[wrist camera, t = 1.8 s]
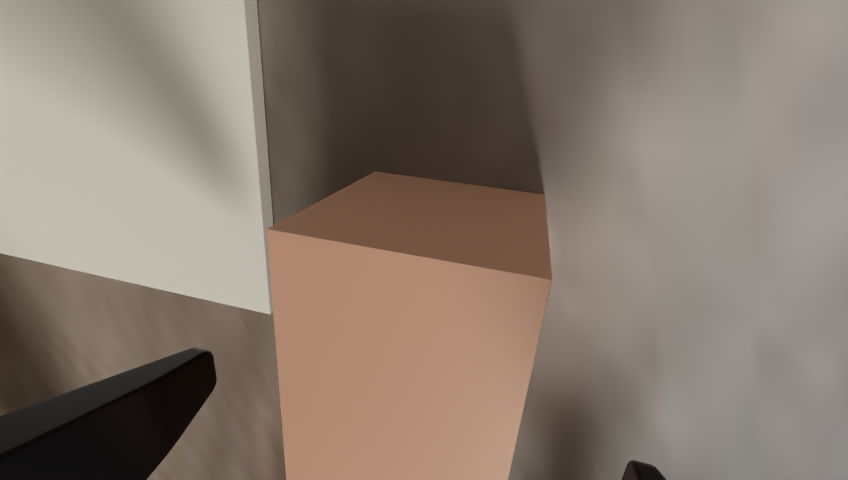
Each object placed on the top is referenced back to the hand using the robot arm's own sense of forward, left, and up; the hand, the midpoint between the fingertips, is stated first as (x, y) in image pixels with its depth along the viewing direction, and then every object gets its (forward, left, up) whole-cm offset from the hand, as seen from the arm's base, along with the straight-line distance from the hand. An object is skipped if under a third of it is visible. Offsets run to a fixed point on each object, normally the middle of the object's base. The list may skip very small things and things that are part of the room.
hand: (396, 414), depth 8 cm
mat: (+6, +11, -4) cm, 14 cm away
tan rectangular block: (0, 0, -4) cm, 4 cm away
